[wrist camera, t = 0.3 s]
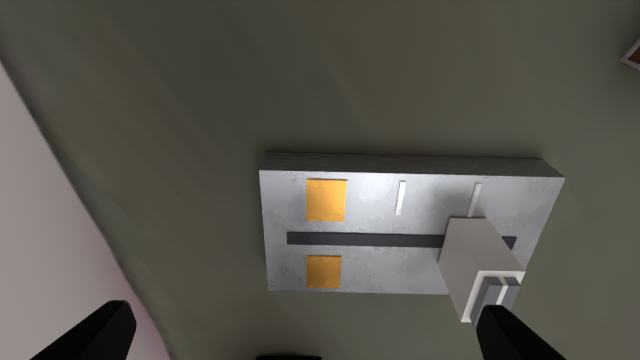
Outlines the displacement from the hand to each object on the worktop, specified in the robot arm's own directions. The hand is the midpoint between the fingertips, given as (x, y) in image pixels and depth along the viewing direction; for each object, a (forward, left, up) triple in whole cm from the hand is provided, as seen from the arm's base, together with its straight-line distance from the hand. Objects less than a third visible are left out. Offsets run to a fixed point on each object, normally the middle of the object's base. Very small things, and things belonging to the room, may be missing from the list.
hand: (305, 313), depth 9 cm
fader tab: (-7, -10, -11) cm, 17 cm away
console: (-7, -6, -14) cm, 17 cm away
